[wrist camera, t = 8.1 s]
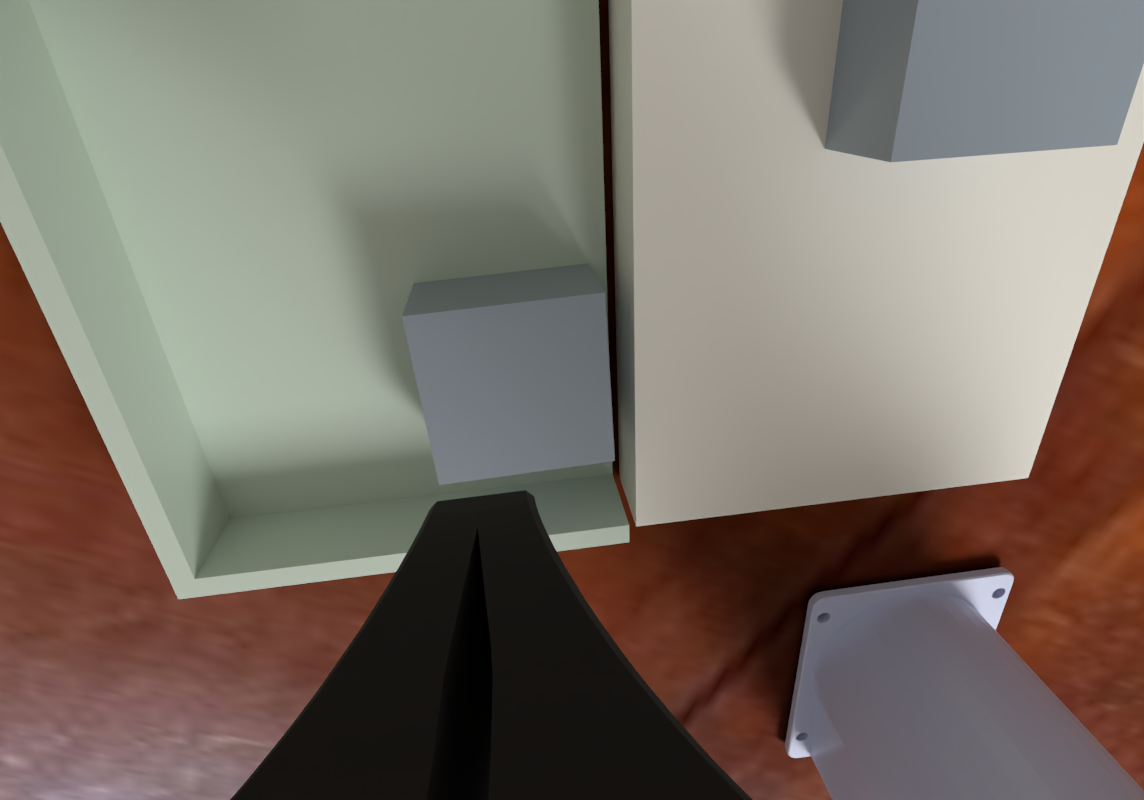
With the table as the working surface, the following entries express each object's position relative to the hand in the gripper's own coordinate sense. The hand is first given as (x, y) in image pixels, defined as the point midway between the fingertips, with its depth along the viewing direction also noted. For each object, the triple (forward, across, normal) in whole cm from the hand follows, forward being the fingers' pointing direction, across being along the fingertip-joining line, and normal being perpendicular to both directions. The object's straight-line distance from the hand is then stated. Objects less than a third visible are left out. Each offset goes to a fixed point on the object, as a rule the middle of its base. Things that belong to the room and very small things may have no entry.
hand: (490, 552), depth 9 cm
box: (+9, +3, -2) cm, 10 cm away
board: (+9, -10, -2) cm, 14 cm away
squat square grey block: (+9, -1, +1) cm, 9 cm away
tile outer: (+7, -10, -6) cm, 14 cm away
